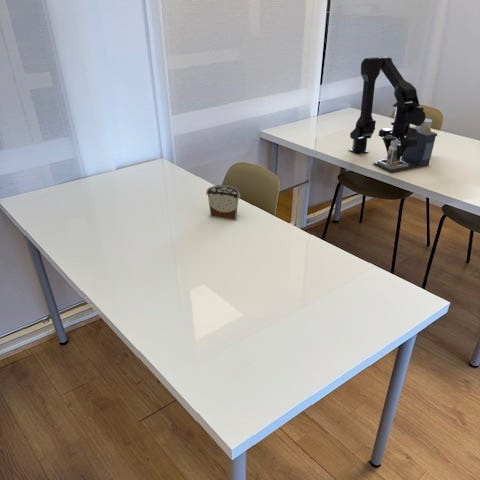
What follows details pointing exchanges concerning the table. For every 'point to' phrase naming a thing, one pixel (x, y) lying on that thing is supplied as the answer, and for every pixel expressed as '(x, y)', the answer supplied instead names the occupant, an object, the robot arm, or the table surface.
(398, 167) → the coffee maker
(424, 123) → the bottle
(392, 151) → the pill bottle
